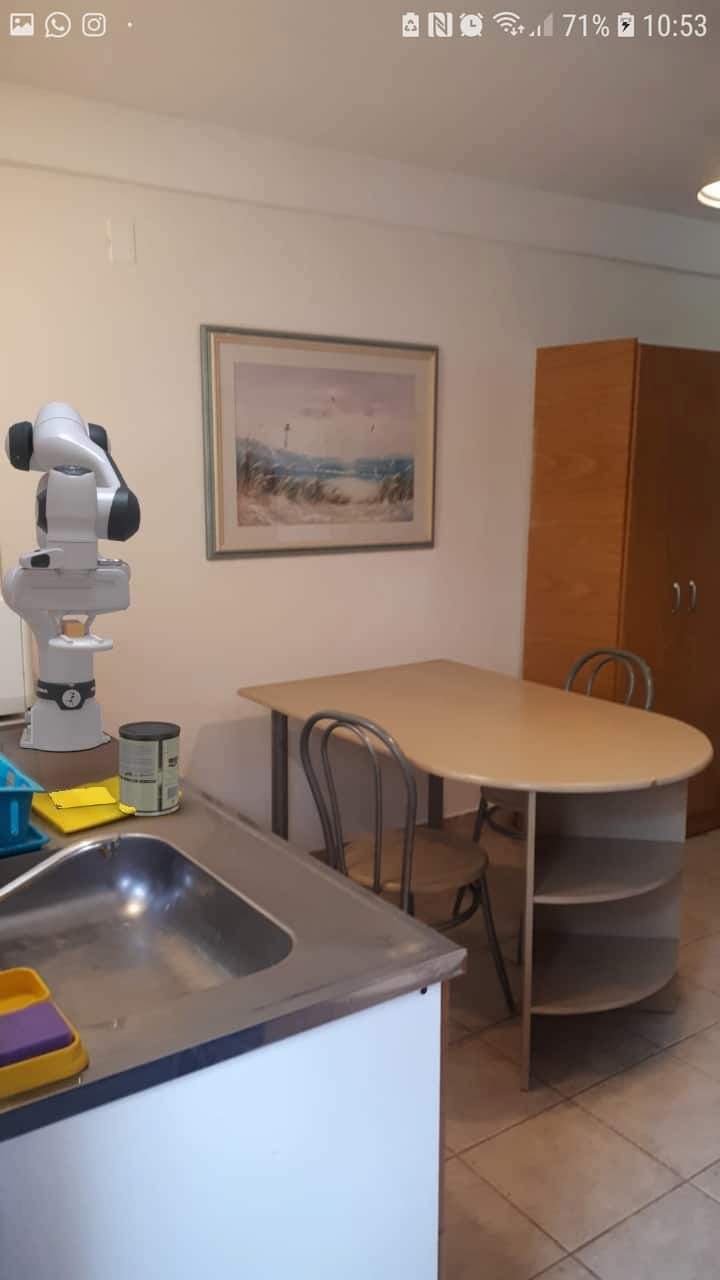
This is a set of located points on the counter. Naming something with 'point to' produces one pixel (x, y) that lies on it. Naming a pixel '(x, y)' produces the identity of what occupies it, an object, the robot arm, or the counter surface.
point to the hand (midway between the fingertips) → (71, 635)
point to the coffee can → (149, 767)
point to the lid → (78, 639)
